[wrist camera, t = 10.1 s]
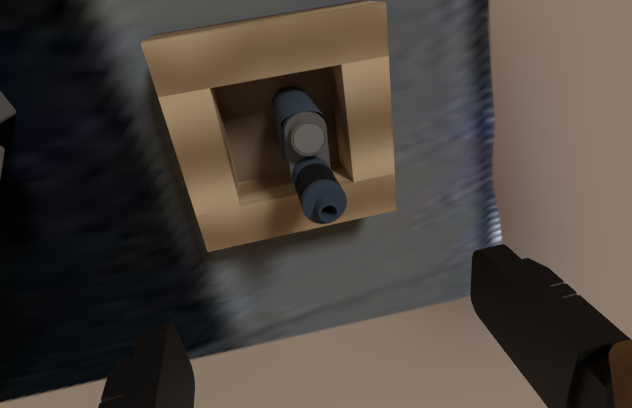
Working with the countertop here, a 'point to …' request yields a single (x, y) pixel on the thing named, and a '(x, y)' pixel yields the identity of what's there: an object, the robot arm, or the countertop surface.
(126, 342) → the countertop surface
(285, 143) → the vaping device
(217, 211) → the block
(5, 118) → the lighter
